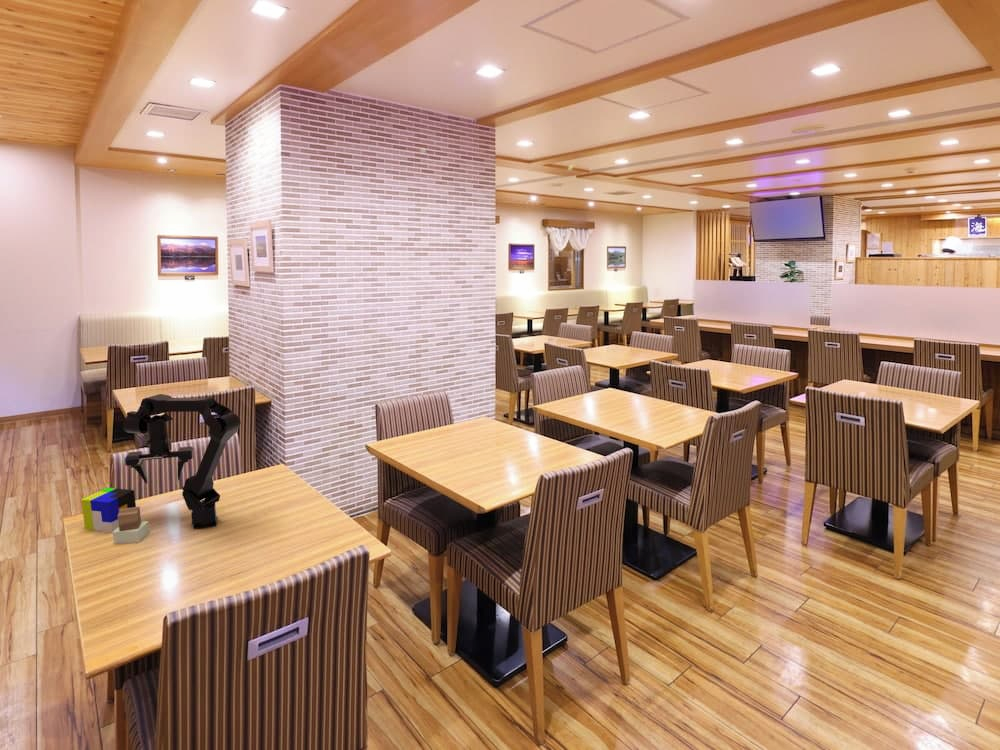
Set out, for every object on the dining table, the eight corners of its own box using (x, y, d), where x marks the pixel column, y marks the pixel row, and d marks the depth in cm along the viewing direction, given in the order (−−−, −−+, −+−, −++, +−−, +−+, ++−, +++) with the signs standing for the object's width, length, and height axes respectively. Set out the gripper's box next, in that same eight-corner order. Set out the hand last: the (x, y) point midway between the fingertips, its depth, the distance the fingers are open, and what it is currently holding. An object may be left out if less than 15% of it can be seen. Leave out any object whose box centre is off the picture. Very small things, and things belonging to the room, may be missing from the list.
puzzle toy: (112, 532, 188) (108, 502, 186) (85, 529, 190) (81, 499, 188) (137, 519, 198) (134, 490, 196) (111, 516, 200) (107, 487, 198)
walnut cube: (138, 528, 183) (136, 512, 182) (119, 531, 181) (117, 515, 180) (141, 521, 187) (139, 506, 186) (122, 524, 186) (120, 509, 185)
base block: (150, 533, 189) (148, 521, 188) (139, 543, 182) (137, 531, 181) (126, 534, 188) (124, 521, 187) (114, 544, 181) (112, 532, 181)
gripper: (193, 425, 203) (197, 469, 206) (129, 430, 196) (134, 476, 199) (189, 434, 193) (194, 481, 196) (121, 440, 186) (127, 488, 189)
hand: (163, 481), depth 195 cm, fingers open, 9 cm apart
